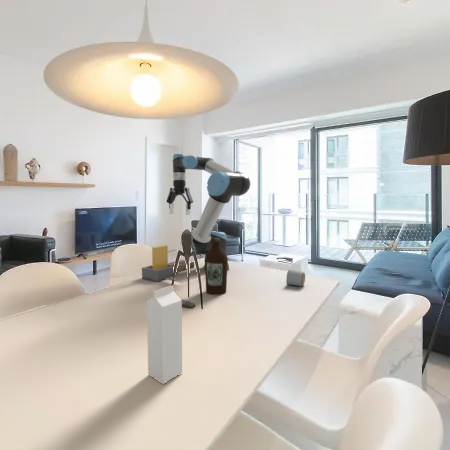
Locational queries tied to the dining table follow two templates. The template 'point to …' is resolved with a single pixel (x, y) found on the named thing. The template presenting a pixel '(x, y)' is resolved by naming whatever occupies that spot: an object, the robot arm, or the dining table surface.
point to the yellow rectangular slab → (160, 257)
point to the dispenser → (183, 265)
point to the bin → (157, 273)
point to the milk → (164, 334)
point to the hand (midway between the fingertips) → (179, 214)
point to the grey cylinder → (295, 278)
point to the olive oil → (216, 269)
